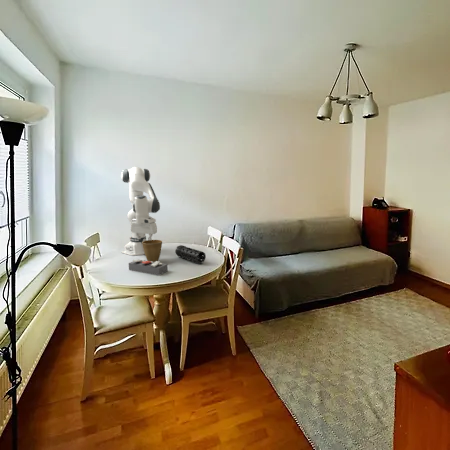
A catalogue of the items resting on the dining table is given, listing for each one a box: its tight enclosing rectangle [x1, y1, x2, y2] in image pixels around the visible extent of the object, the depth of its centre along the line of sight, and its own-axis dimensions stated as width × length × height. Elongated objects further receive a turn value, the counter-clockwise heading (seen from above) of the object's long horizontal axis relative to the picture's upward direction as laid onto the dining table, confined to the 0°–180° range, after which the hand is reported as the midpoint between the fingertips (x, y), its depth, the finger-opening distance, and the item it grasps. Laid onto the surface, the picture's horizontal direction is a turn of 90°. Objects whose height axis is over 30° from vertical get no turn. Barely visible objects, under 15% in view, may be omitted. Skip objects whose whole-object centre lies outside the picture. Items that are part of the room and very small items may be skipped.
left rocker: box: [132, 259, 143, 263], centre depth 211 cm, size 3×6×2 cm, turn 155°
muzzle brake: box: [174, 244, 206, 265], centre depth 233 cm, size 10×28×10 cm, turn 45°
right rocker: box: [151, 260, 161, 267], centre depth 204 cm, size 3×6×2 cm, turn 155°
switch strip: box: [128, 259, 169, 276], centre depth 209 cm, size 26×10×5 cm, turn 65°
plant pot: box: [142, 239, 163, 262], centre depth 229 cm, size 15×15×16 cm
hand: (144, 239), depth 203 cm, fingers open, 8 cm apart
